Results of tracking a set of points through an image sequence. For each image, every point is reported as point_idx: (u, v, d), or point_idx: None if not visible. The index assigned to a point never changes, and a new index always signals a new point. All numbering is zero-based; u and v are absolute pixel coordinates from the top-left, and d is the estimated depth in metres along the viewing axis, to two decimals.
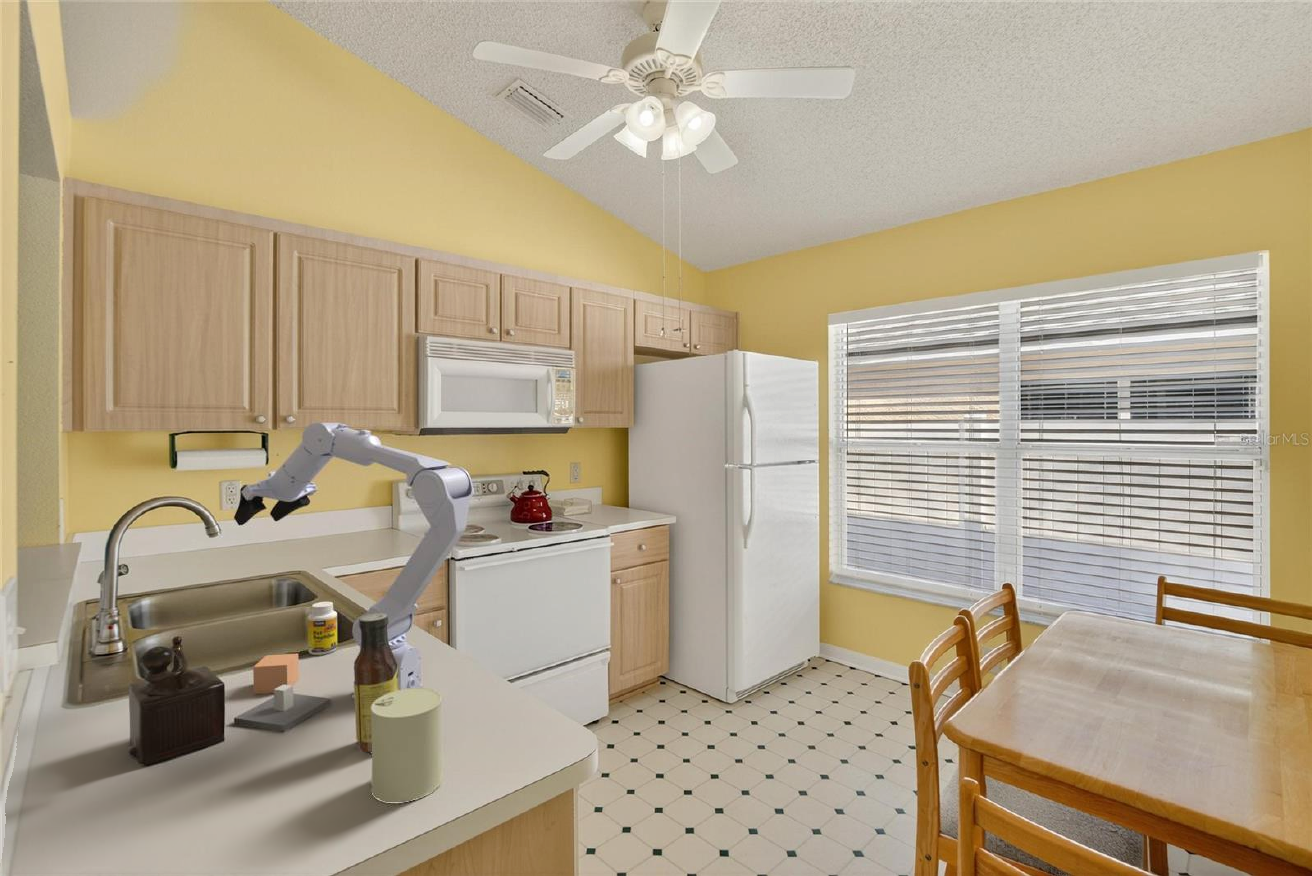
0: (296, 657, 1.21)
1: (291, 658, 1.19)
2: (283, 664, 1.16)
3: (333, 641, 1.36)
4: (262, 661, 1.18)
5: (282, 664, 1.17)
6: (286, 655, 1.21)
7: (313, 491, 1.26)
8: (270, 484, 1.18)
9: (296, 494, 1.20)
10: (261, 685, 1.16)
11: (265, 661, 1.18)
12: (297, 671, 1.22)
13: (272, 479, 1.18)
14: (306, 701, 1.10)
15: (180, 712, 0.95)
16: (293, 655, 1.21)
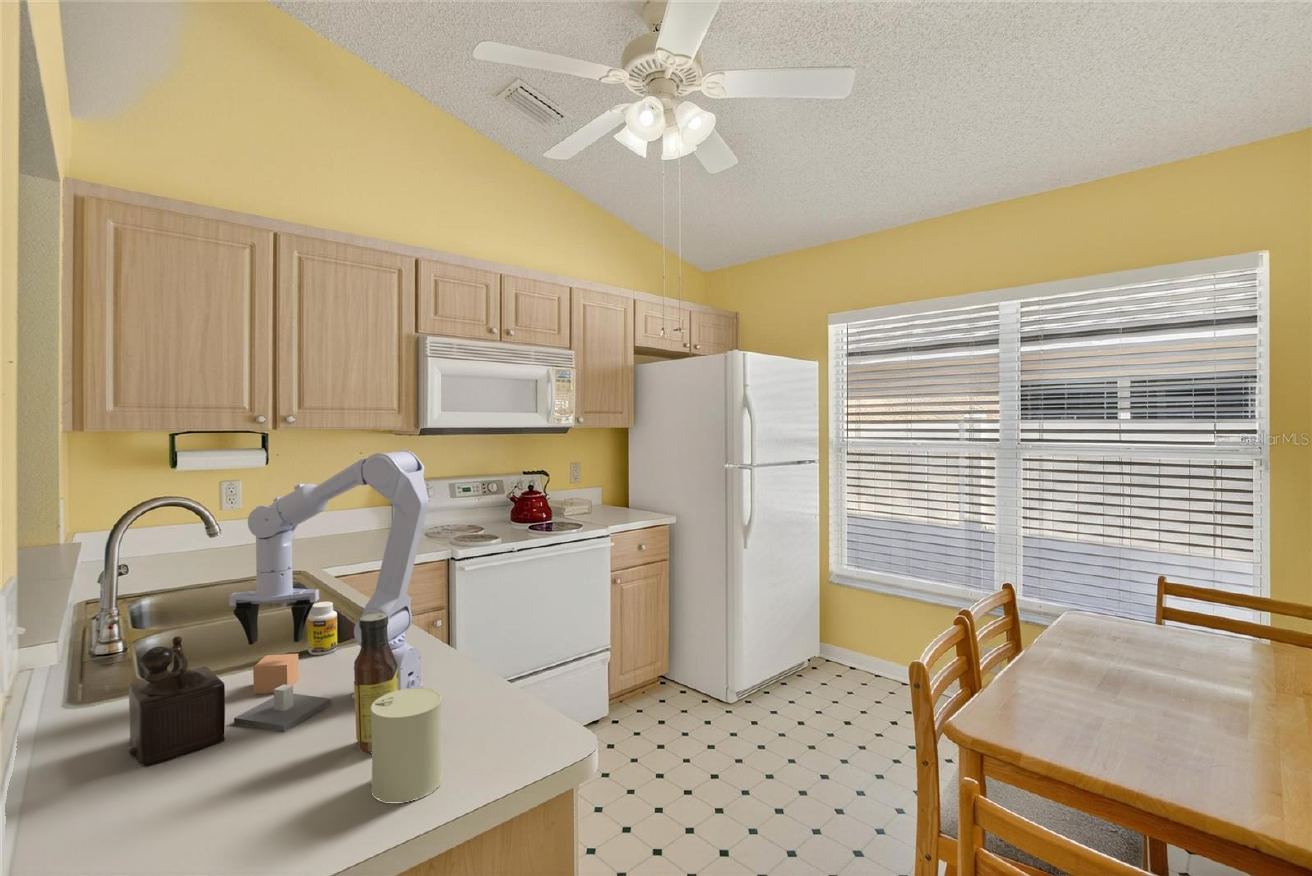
0: (296, 657, 1.21)
1: (291, 658, 1.19)
2: (283, 664, 1.16)
3: (333, 641, 1.36)
4: (262, 661, 1.18)
5: (282, 664, 1.17)
6: (286, 655, 1.21)
7: (310, 595, 1.18)
8: None
9: (269, 590, 1.15)
10: (261, 685, 1.16)
11: (265, 661, 1.18)
12: (297, 671, 1.22)
13: None
14: (306, 701, 1.10)
15: (180, 712, 0.95)
16: (293, 655, 1.21)
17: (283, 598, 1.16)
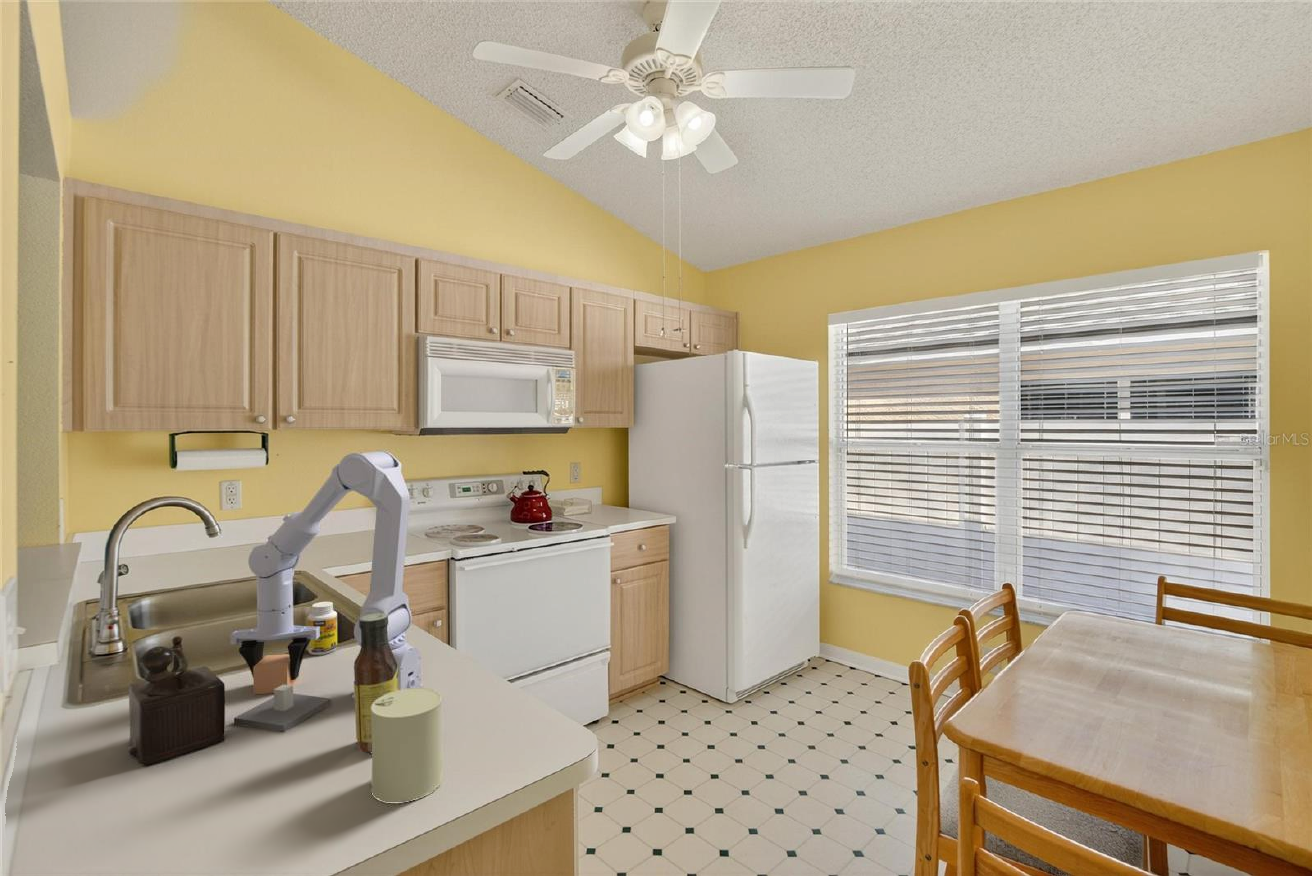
0: None
1: None
2: (283, 664, 1.16)
3: (333, 641, 1.36)
4: (262, 661, 1.18)
5: (282, 664, 1.17)
6: (286, 655, 1.21)
7: (311, 633, 1.19)
8: None
9: (270, 629, 1.16)
10: (261, 685, 1.16)
11: (265, 661, 1.18)
12: None
13: None
14: (306, 701, 1.10)
15: (180, 712, 0.95)
16: None
17: (284, 636, 1.17)
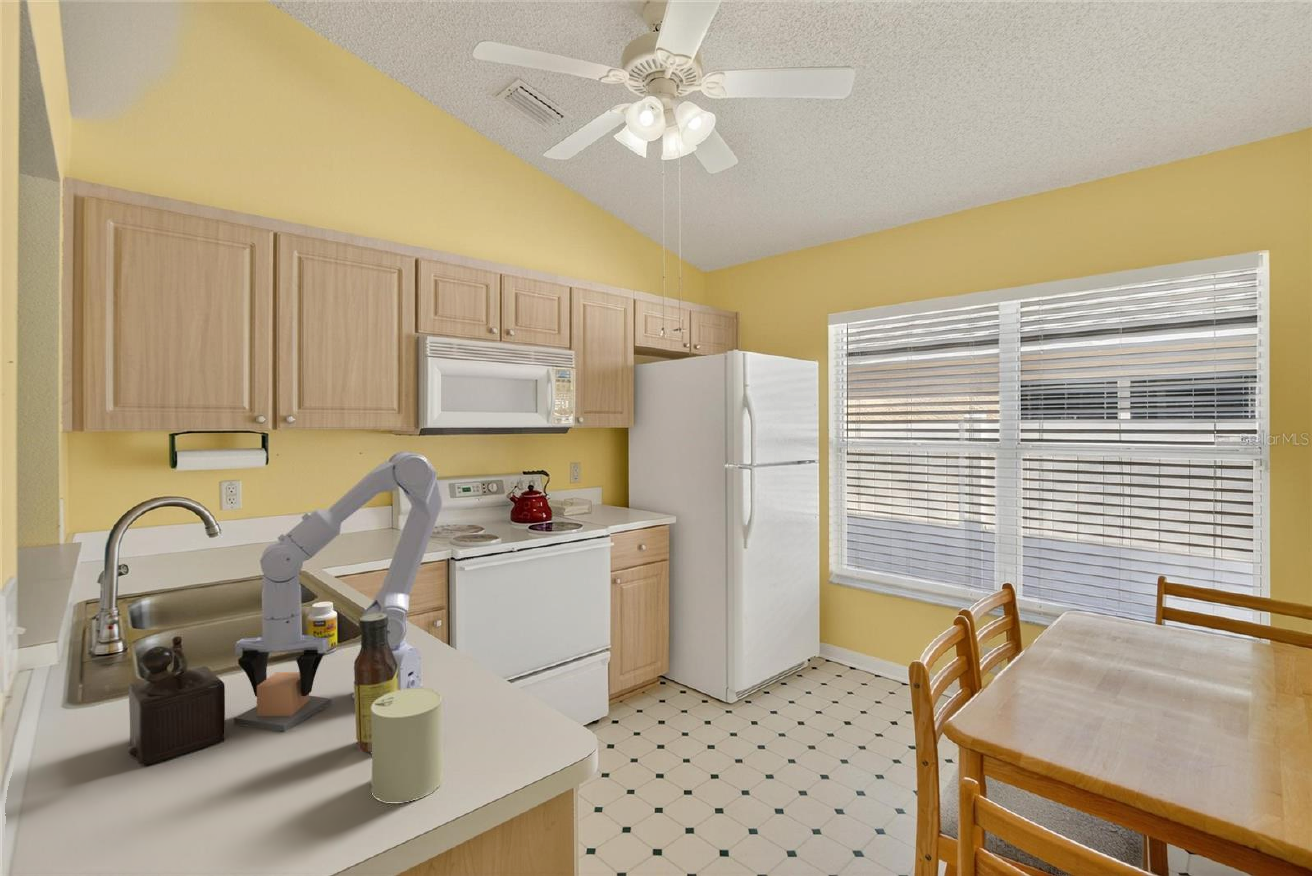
0: None
1: (299, 677, 1.08)
2: (287, 685, 1.05)
3: (333, 641, 1.36)
4: (268, 679, 1.07)
5: (287, 684, 1.05)
6: (296, 673, 1.10)
7: (318, 645, 1.07)
8: None
9: (274, 639, 1.05)
10: (265, 707, 1.05)
11: (271, 679, 1.07)
12: None
13: None
14: None
15: (180, 712, 0.95)
16: None
17: (288, 648, 1.05)
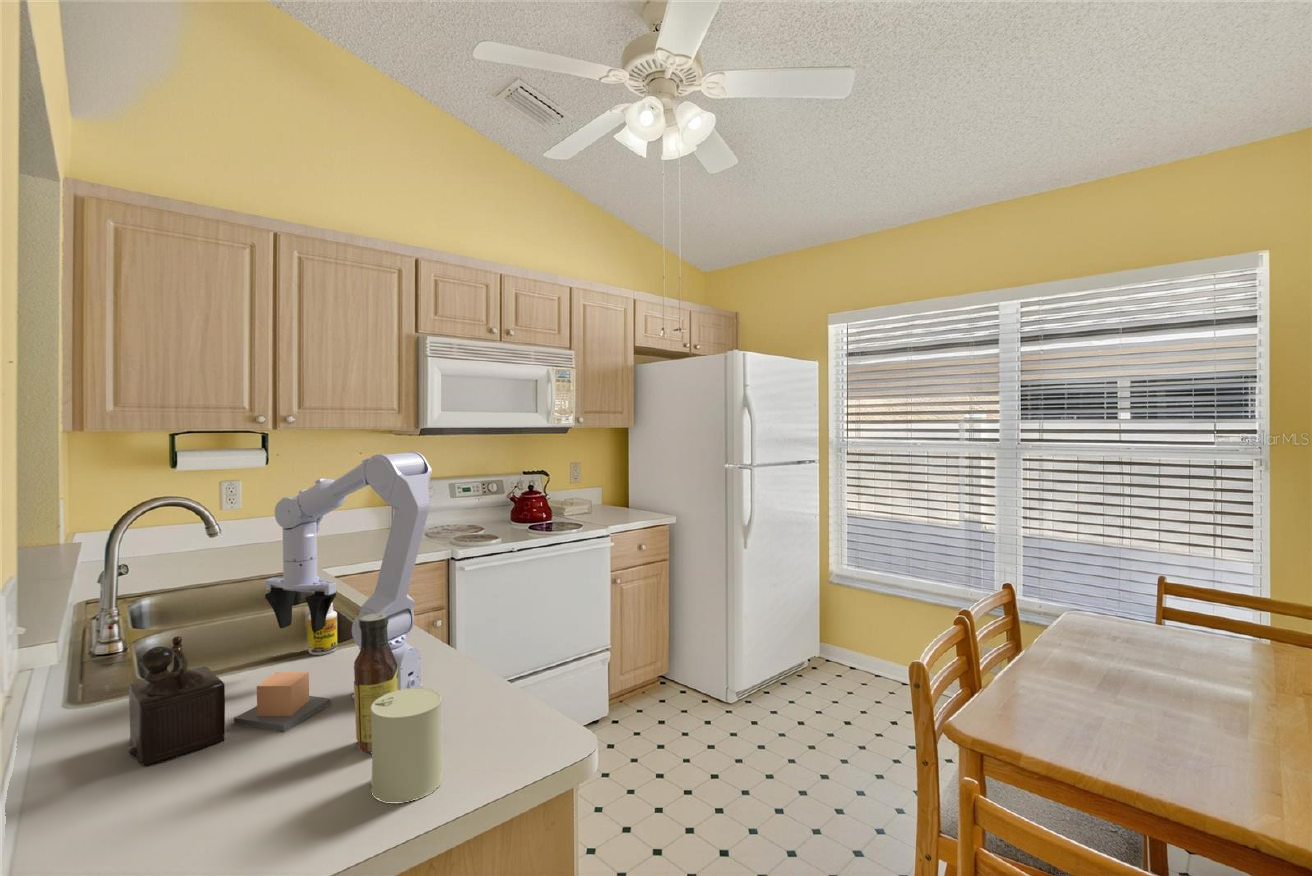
0: (306, 676, 1.10)
1: (299, 677, 1.08)
2: (287, 685, 1.05)
3: (333, 641, 1.36)
4: (268, 679, 1.07)
5: (287, 684, 1.05)
6: (296, 673, 1.10)
7: (325, 588, 1.20)
8: None
9: (289, 579, 1.20)
10: (265, 707, 1.05)
11: (271, 679, 1.07)
12: (307, 691, 1.10)
13: None
14: None
15: (180, 712, 0.95)
16: (303, 674, 1.10)
17: (300, 588, 1.20)
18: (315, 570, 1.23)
